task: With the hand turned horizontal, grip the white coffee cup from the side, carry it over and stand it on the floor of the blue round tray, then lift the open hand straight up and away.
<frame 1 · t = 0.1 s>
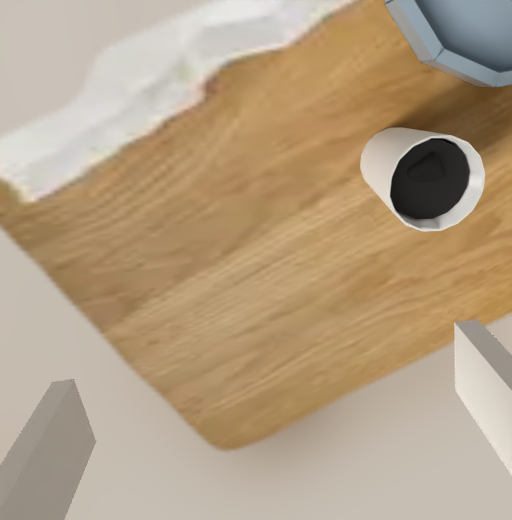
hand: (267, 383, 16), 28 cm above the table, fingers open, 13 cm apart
white coffee cup: (392, 160, 42), on the table
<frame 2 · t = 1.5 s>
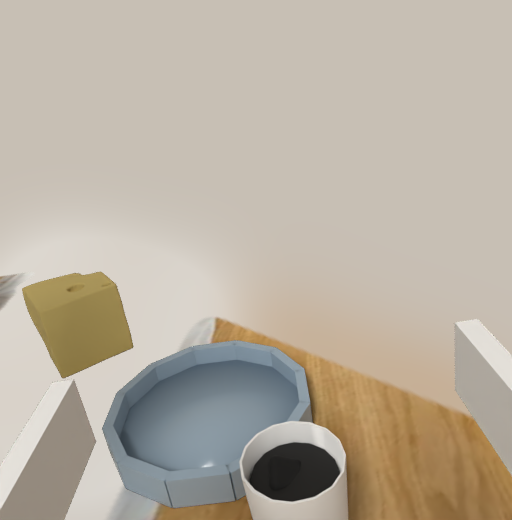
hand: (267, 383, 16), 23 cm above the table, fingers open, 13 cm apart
blue round tray: (212, 421, 49), on the table
cheese: (89, 351, 66), on the table
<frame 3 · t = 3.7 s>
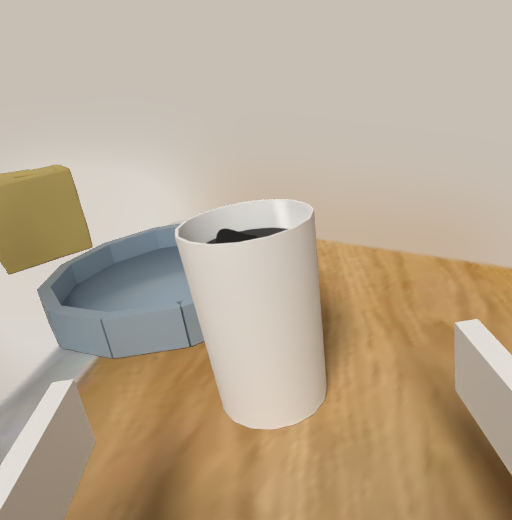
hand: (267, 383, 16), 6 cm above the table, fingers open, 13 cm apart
blue round tray: (172, 290, 42), on the table
cheese: (44, 255, 59), on the table
white coffee cup: (274, 395, 26), on the table
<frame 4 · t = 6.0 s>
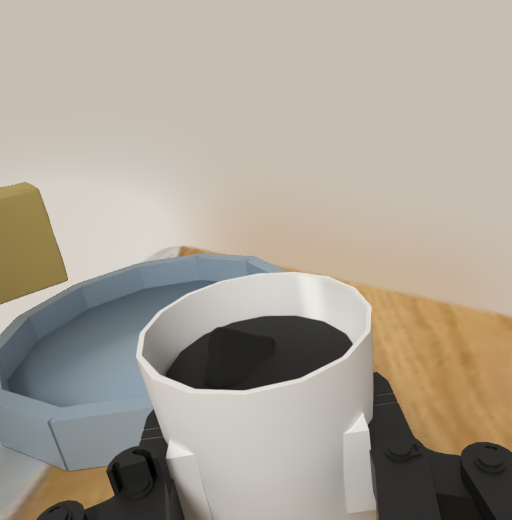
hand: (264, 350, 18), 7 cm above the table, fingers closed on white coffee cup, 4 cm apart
blue round tray: (156, 351, 33), on the table
cheese: (11, 288, 50), on the table
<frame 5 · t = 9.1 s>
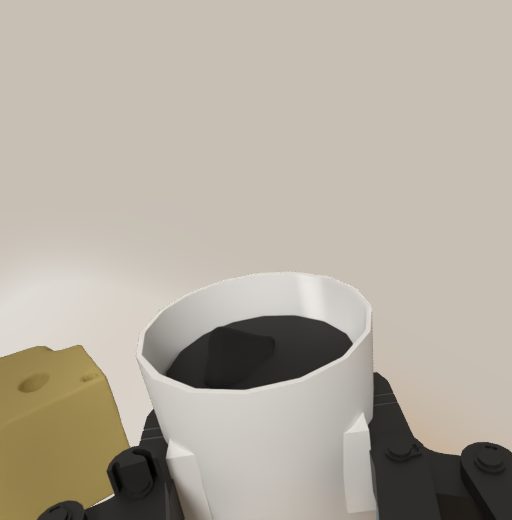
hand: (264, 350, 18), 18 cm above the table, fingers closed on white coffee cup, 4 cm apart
cheese: (63, 481, 39), on the table
when the fingers open (8 cm above the table, at t = 11.8 s): white coffee cup stays where it is, resting on blue round tray.
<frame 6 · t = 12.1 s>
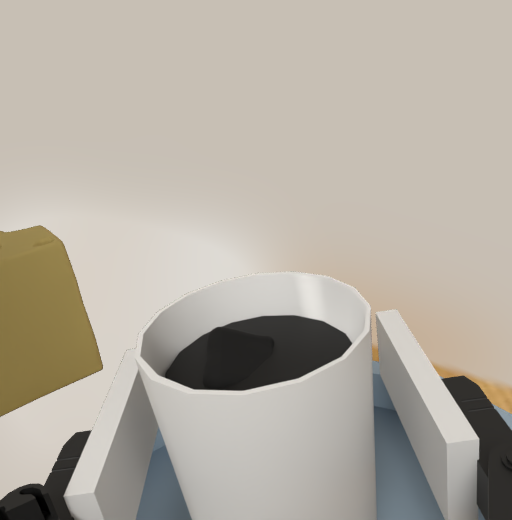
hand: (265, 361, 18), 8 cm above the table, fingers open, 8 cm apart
cheese: (21, 376, 35), on the table
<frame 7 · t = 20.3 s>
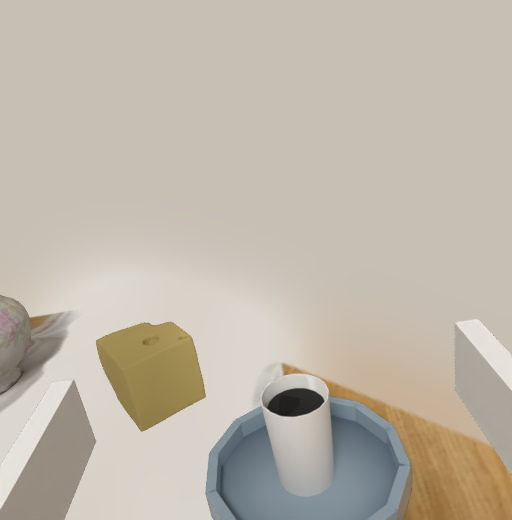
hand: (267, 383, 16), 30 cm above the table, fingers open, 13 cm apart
blue round tray: (307, 480, 50), on the table
cheese: (160, 400, 67), on the table
white coffee cup: (306, 475, 49), point 1 cm above the table, touching blue round tray
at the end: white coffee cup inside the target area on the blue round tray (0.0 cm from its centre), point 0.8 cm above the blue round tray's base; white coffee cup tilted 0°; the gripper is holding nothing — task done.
